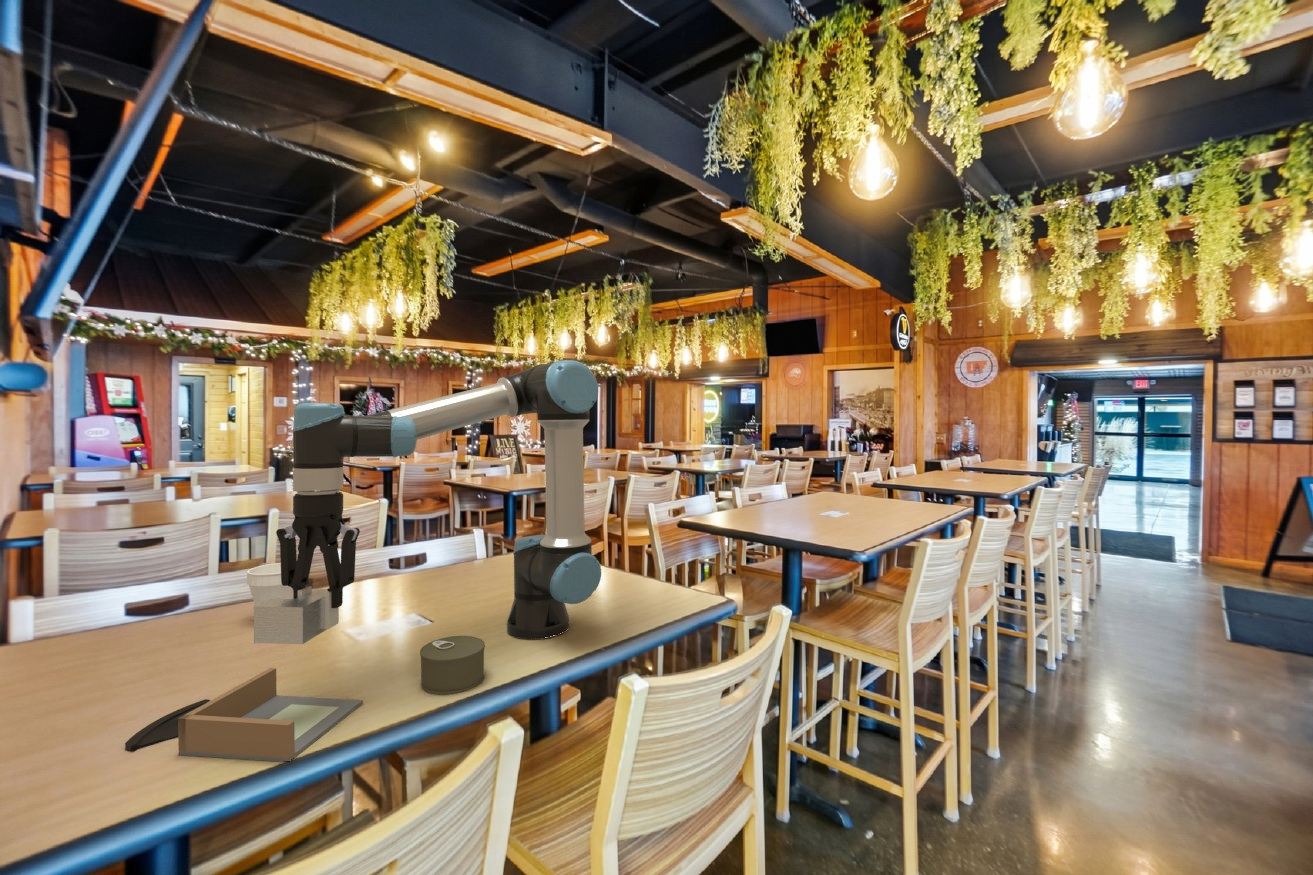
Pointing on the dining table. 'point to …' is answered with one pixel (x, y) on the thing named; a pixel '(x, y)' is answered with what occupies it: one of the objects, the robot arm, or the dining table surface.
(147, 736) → the dark sector wedge
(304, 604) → the bracket
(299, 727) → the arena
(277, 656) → the dining table surface
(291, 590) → the cup
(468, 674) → the can
